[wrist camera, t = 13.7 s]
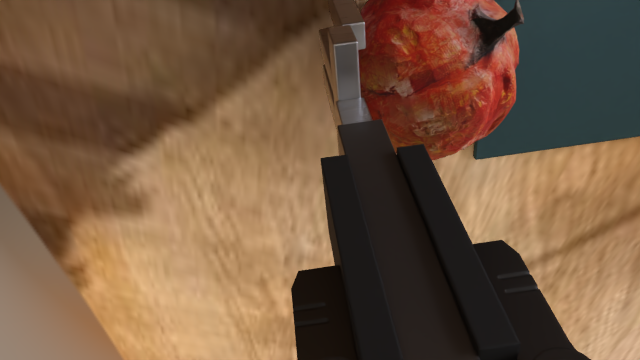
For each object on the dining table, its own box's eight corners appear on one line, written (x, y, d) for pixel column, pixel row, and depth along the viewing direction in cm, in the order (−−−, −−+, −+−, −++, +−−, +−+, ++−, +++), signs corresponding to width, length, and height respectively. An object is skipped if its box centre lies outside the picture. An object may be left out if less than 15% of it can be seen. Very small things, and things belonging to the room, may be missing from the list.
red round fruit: (420, 98, 29) (603, 32, 22) (372, 205, 26) (567, 174, 18) (328, 0, 26) (502, -118, 18) (260, 107, 23) (436, 18, 15)
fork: (307, -10, 21) (483, 576, 6) (346, -15, 21) (632, 550, 6) (320, 116, 25) (452, 688, 9) (354, 111, 25) (543, 672, 9)
